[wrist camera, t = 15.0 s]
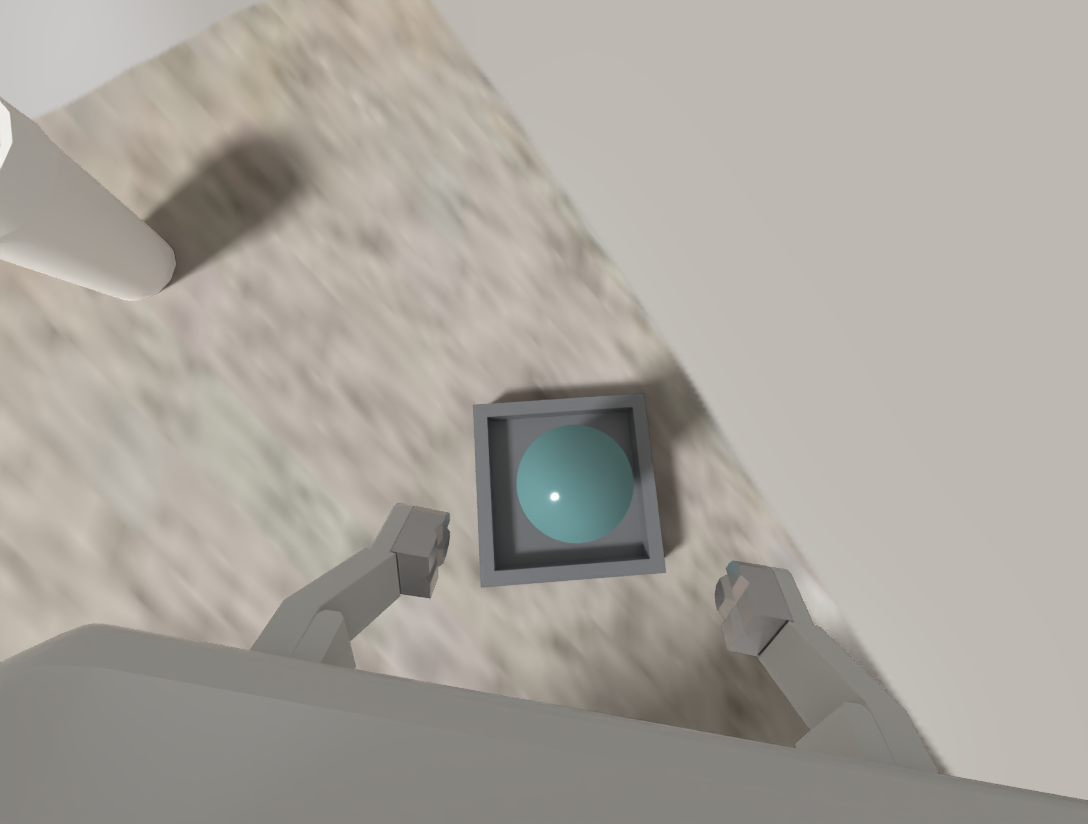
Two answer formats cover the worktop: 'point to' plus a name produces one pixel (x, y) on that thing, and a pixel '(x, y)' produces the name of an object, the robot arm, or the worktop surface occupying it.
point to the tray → (509, 535)
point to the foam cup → (71, 219)
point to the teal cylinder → (575, 483)
